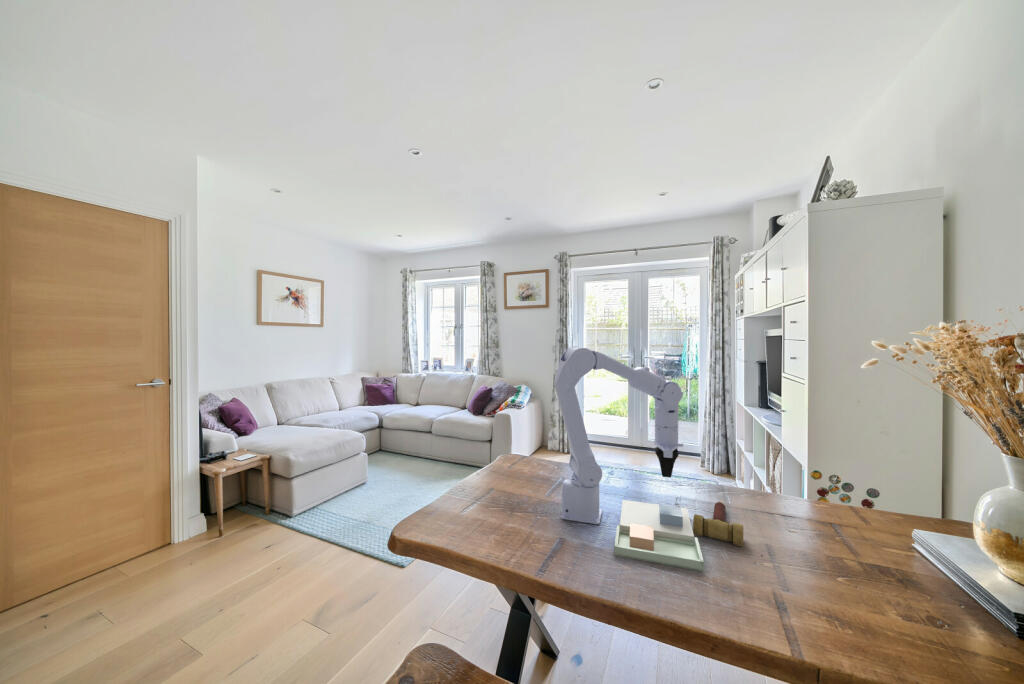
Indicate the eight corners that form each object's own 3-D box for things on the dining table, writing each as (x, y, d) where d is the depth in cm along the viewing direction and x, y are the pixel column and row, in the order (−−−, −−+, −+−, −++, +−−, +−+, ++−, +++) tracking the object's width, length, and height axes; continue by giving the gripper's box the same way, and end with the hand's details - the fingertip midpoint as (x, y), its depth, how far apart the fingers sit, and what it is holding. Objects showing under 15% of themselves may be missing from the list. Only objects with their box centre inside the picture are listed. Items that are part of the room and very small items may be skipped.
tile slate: (659, 523, 89) (659, 513, 89) (658, 514, 93) (658, 504, 93) (682, 527, 87) (682, 516, 87) (680, 517, 92) (680, 507, 92)
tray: (614, 555, 80) (614, 546, 80) (617, 533, 88) (617, 525, 88) (703, 571, 74) (703, 561, 74) (697, 546, 83) (697, 537, 83)
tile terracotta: (629, 546, 82) (629, 536, 82) (630, 533, 87) (630, 523, 87) (653, 551, 80) (653, 540, 80) (653, 537, 85) (653, 526, 85)
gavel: (700, 490, 105) (741, 498, 100) (699, 507, 105) (741, 516, 99) (693, 518, 87) (743, 529, 82) (692, 537, 87) (743, 550, 81)
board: (619, 533, 88) (619, 524, 88) (622, 507, 102) (622, 499, 102) (694, 545, 83) (694, 536, 83) (686, 516, 96) (686, 508, 96)
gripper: (685, 433, 90) (685, 489, 90) (680, 420, 104) (680, 468, 104) (654, 431, 92) (654, 485, 93) (653, 418, 106) (653, 465, 106)
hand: (666, 476), depth 99 cm, fingers closed
